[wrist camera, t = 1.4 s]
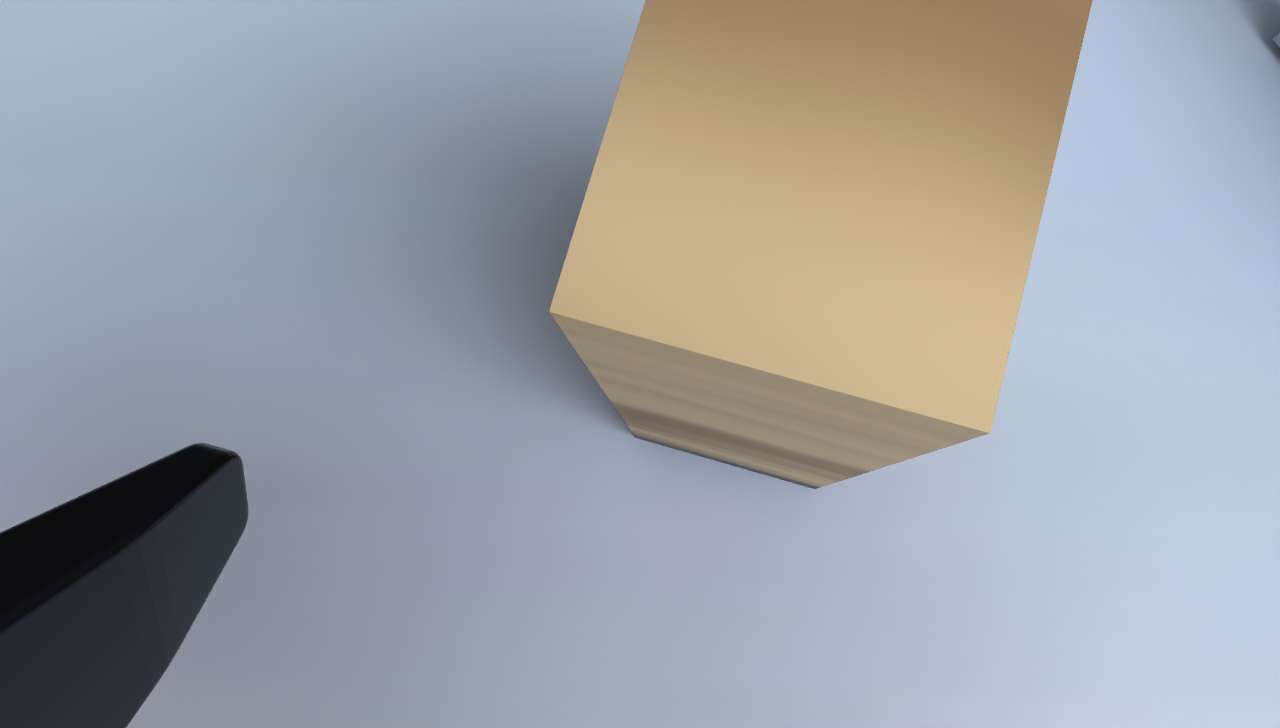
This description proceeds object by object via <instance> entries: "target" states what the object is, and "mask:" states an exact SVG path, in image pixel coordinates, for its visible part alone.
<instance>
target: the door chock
mask: <svg viewBox="0 0 1280 728" xmlns="http://www.w3.org/2000/svg"><path fill="white" fill-rule="evenodd" d="M1091 4H1092V0H646V1H645V4H644V8H643V11H642V14H641V17H640V20H639V24H638V27H637V30H636V33H635V37H634V40H633V43H632V46H631V49H630V53H629V56H628V59H627V62H626V65H625V69H624V72H623V75H622V78H621V82H620V85H619V88H618V91H617V94H616V98H615V101H614V104H613V107H612V110H611V114H610V117H609V120H608V123H607V127H606V130H605V133H604V136H603V139H602V143H601V146H600V149H599V152H598V155H597V159H596V162H595V165H594V168H593V172H592V175H591V178H590V181H589V184H588V188H587V191H586V194H585V197H584V200H583V204H582V207H581V210H580V213H579V217H578V220H577V223H576V226H575V229H574V233H573V236H572V239H571V242H570V245H569V249H568V252H567V255H566V258H565V262H564V265H563V268H562V271H561V274H560V278H559V281H558V284H557V287H556V290H555V294H554V297H553V300H552V303H551V307H550V310H549V313H550V314H551V316H552V317H553V318H554V320H555V321H556V323H557V324H558V326H559V327H560V329H561V330H562V332H563V333H564V334H565V336H566V337H567V339H568V340H569V342H570V343H571V345H572V346H573V348H574V349H575V350H576V352H577V353H578V355H579V356H580V358H581V359H582V361H583V362H584V364H585V365H586V366H587V368H588V369H589V371H590V372H591V374H592V375H593V377H594V378H595V380H596V381H597V382H598V384H599V385H600V387H601V388H602V390H603V391H604V393H605V394H606V395H607V397H608V398H609V400H610V401H611V403H612V404H613V406H614V407H615V409H616V410H617V411H618V413H619V414H620V416H621V417H622V419H623V420H624V422H625V423H626V425H627V426H628V427H629V429H630V430H631V432H632V433H633V435H634V436H635V438H639V439H642V440H646V441H649V442H653V443H656V444H660V445H663V446H667V447H670V448H674V449H677V450H681V451H684V452H688V453H691V454H695V455H698V456H702V457H705V458H709V459H712V460H716V461H719V462H723V463H726V464H730V465H733V466H737V467H740V468H744V469H747V470H751V471H754V472H758V473H761V474H765V475H768V476H772V477H775V478H779V479H782V480H785V481H789V482H792V483H796V484H799V485H803V486H806V487H810V488H813V489H817V488H820V487H823V486H826V485H829V484H832V483H835V482H838V481H842V480H845V479H848V478H851V477H854V476H857V475H860V474H863V473H867V472H870V471H873V470H876V469H879V468H882V467H885V466H889V465H892V464H895V463H898V462H901V461H904V460H907V459H910V458H914V457H917V456H920V455H923V454H926V453H929V452H932V451H935V450H939V449H942V448H945V447H948V446H951V445H954V444H957V443H961V442H964V441H967V440H970V439H973V438H976V437H979V436H982V435H986V434H989V433H990V430H991V425H992V421H993V417H994V413H995V409H996V404H997V400H998V396H999V392H1000V387H1001V383H1002V379H1003V375H1004V371H1005V366H1006V362H1007V358H1008V354H1009V350H1010V345H1011V341H1012V337H1013V333H1014V328H1015V324H1016V320H1017V316H1018V312H1019V307H1020V303H1021V299H1022V295H1023V291H1024V286H1025V282H1026V278H1027V274H1028V269H1029V265H1030V261H1031V257H1032V253H1033V248H1034V244H1035V240H1036V236H1037V232H1038V227H1039V223H1040V219H1041V215H1042V210H1043V206H1044V202H1045V198H1046V194H1047V189H1048V185H1049V181H1050V177H1051V173H1052V168H1053V164H1054V160H1055V156H1056V151H1057V147H1058V143H1059V139H1060V135H1061V130H1062V126H1063V122H1064V118H1065V114H1066V109H1067V105H1068V101H1069V97H1070V92H1071V88H1072V84H1073V80H1074V76H1075V71H1076V67H1077V63H1078V59H1079V55H1080V50H1081V46H1082V42H1083V38H1084V33H1085V29H1086V25H1087V21H1088V17H1089V12H1090V8H1091Z"/></svg>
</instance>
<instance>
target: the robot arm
mask: <svg viewBox="0 0 1280 728" xmlns="http://www.w3.org/2000/svg"><path fill="white" fill-rule="evenodd" d="M247 519H248V501H247V494H246V486H245V478H244V471H243V464H242V460H241V458H240V457H239V456H238V454H237V453H235V452H233V451H230V450H227V449H223V448H220V447H216V446H213V445H210V444H205V443H197V444H193V445H190V446H188V447H185V448H183V449H181V450H179V451H177V452H175V453H172V454H170V455H168V456H166V457H164V458H162V459H159V460H157V461H155V462H153V463H151V464H148V465H146V466H144V467H142V468H140V469H138V470H135V471H133V472H131V473H129V474H127V475H125V476H122V477H120V478H118V479H116V480H114V481H112V482H109V483H107V484H105V485H103V486H101V487H99V488H96V489H94V490H92V491H90V492H88V493H85V494H83V495H81V496H79V497H77V498H75V499H72V500H70V501H68V502H66V503H64V504H62V505H59V506H57V507H55V508H53V509H51V510H49V511H46V512H44V513H42V514H40V515H38V516H36V517H33V518H31V519H29V520H27V521H25V522H22V523H20V524H18V525H16V526H14V527H12V528H9V529H7V530H5V531H3V532H1V533H0V728H126V727H127V726H128V724H129V723H130V721H131V720H132V718H133V717H134V716H135V714H136V713H137V711H138V710H139V708H140V707H141V706H142V704H143V703H144V701H145V700H146V698H147V697H148V696H149V694H150V693H151V691H152V690H153V689H154V687H155V686H156V684H157V683H158V681H159V680H160V678H161V677H162V675H163V674H164V672H165V671H166V669H167V668H168V666H169V664H170V663H171V661H172V659H173V658H174V656H175V654H176V653H177V651H178V649H179V647H180V646H181V644H182V642H183V640H184V639H185V637H186V635H187V633H188V631H189V630H190V628H191V626H192V624H193V622H194V621H195V619H196V617H197V615H198V613H199V612H200V610H201V608H202V606H203V604H204V603H205V601H206V599H207V597H208V595H209V593H210V592H211V590H212V588H213V586H214V584H215V583H216V581H217V579H218V577H219V575H220V574H221V572H222V570H223V568H224V566H225V565H226V563H227V561H228V559H229V557H230V556H231V554H232V552H233V550H234V548H235V547H236V545H237V543H238V541H239V539H240V537H241V536H242V534H243V532H244V529H245V526H246V523H247Z"/></svg>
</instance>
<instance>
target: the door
mask: <svg viewBox="0 0 1280 728" xmlns="http://www.w3.org/2000/svg"><path fill="white" fill-rule="evenodd" d="M1273 41H1274V42H1275V43H1276V44H1277V45H1278V46H1279V48H1280V33H1279V34H1278V35H1277V36H1275V37H1274V38H1273Z"/></svg>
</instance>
